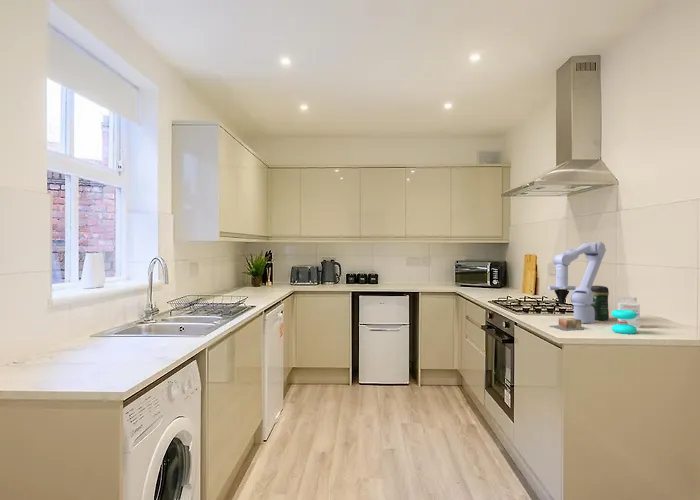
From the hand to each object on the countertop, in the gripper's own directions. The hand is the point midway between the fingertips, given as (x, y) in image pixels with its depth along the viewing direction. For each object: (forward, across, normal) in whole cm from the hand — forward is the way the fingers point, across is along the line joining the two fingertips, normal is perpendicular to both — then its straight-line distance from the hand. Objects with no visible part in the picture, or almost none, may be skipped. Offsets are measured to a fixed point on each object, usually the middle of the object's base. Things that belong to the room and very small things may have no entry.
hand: (561, 304), depth 225 cm
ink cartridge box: (+10, +28, -13) cm, 32 cm away
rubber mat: (+10, -4, -10) cm, 15 cm away
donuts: (+10, +14, -25) cm, 31 cm away
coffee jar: (+10, +30, +11) cm, 34 cm away
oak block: (+8, +2, -10) cm, 13 cm away
